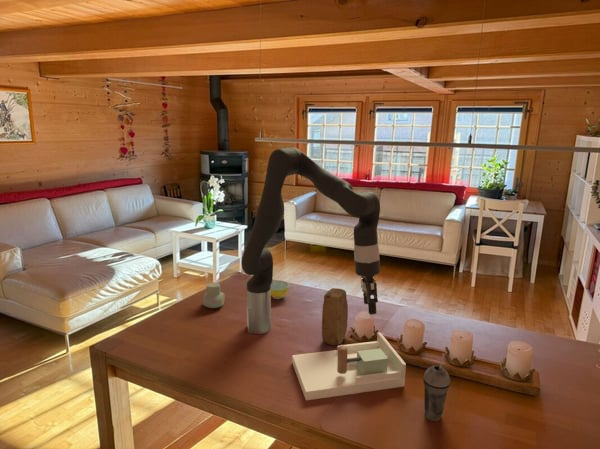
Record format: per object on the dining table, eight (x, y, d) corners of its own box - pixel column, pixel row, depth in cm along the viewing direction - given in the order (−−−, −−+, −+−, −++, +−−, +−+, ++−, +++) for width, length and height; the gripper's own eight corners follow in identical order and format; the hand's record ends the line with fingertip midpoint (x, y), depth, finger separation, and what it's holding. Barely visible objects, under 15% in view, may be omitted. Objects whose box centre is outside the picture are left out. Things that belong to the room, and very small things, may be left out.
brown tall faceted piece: (337, 348, 154) (339, 298, 149) (319, 343, 157) (320, 293, 152) (349, 335, 163) (351, 287, 158) (331, 330, 167) (333, 283, 161)
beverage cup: (416, 407, 123) (421, 346, 118) (440, 406, 124) (446, 345, 119) (425, 425, 116) (431, 361, 111) (450, 424, 117) (458, 360, 112)
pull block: (340, 381, 130) (341, 354, 128) (334, 370, 136) (335, 344, 133) (386, 375, 133) (388, 348, 131) (379, 364, 139) (380, 338, 137)
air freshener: (221, 311, 182) (220, 289, 180) (202, 311, 182) (200, 289, 180) (225, 300, 193) (224, 280, 190) (207, 300, 193) (206, 279, 190)
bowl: (292, 294, 200) (292, 281, 198) (284, 304, 190) (284, 291, 188) (270, 290, 204) (270, 278, 202) (261, 300, 193) (260, 287, 192)
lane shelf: (305, 400, 126) (306, 377, 124) (292, 362, 145) (292, 342, 143) (404, 386, 133) (406, 364, 131) (379, 352, 152) (380, 332, 150)
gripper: (351, 253, 134) (354, 301, 137) (358, 265, 120) (361, 318, 123) (374, 251, 134) (377, 299, 137) (384, 263, 120) (387, 316, 123)
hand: (370, 308), depth 130 cm, fingers open, 8 cm apart
